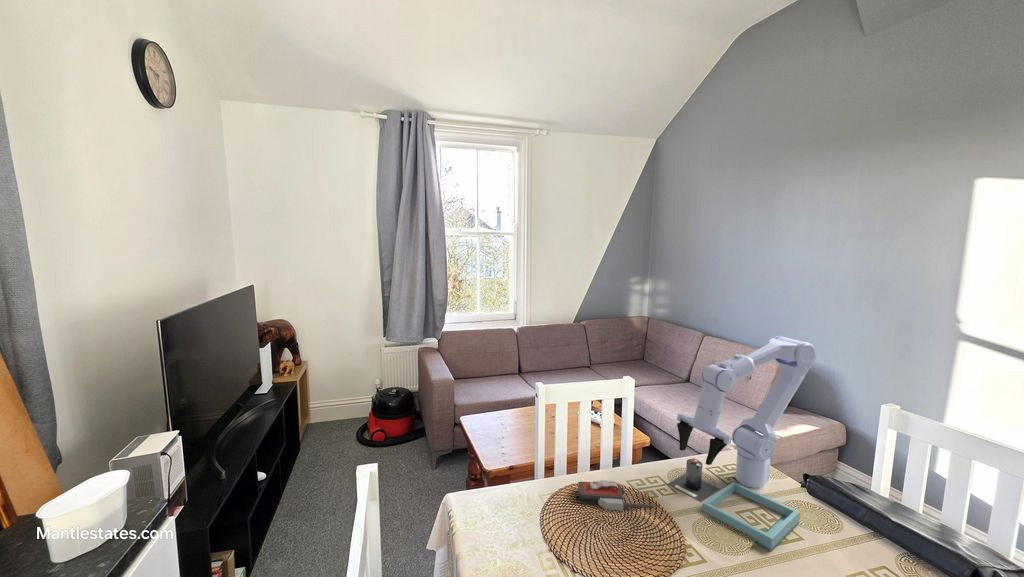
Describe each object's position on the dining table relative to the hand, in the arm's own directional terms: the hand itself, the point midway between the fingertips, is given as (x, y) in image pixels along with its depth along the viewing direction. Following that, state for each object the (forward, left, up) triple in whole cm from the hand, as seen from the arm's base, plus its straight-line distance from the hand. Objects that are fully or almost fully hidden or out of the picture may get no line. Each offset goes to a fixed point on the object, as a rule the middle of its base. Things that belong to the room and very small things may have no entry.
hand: (694, 456), depth 112 cm
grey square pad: (-1, -1, -11) cm, 11 cm away
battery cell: (-1, -1, -10) cm, 10 cm away
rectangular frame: (-1, +14, -11) cm, 18 cm away
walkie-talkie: (+21, -11, -11) cm, 26 cm away
